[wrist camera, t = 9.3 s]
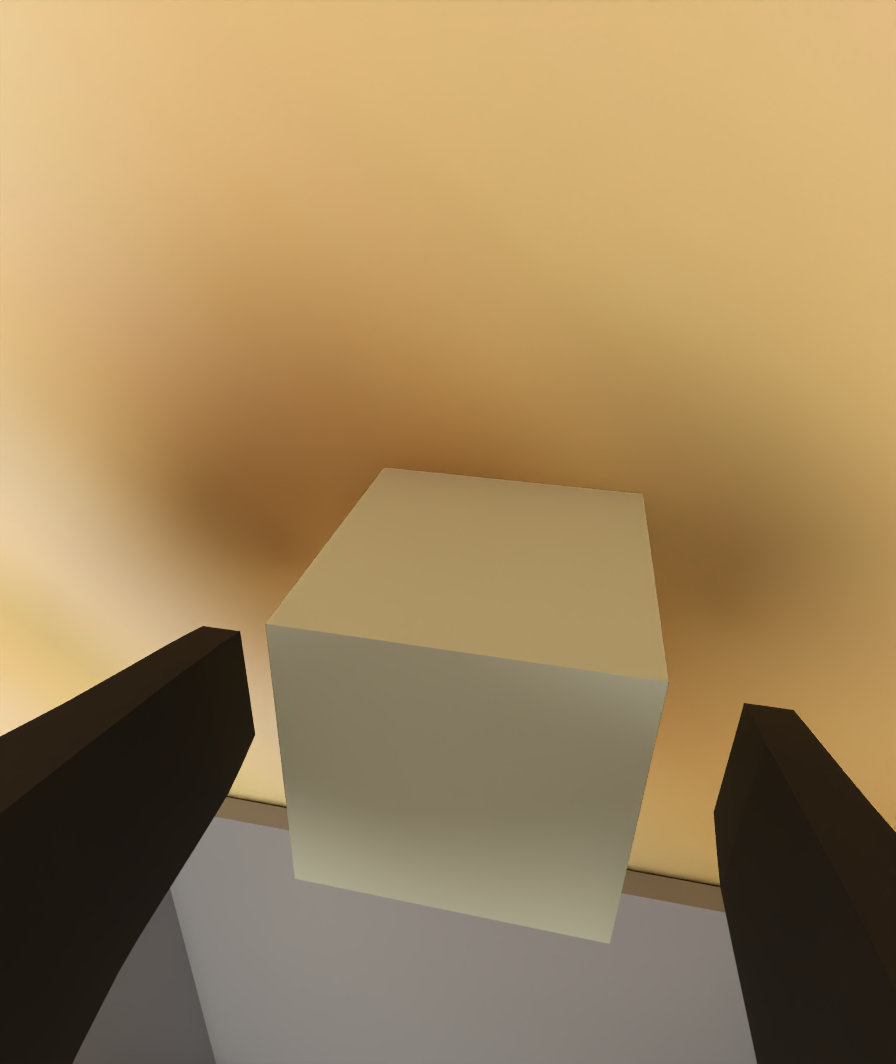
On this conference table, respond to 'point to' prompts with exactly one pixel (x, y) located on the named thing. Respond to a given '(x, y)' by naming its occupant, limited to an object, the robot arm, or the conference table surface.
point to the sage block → (473, 698)
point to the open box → (409, 973)
